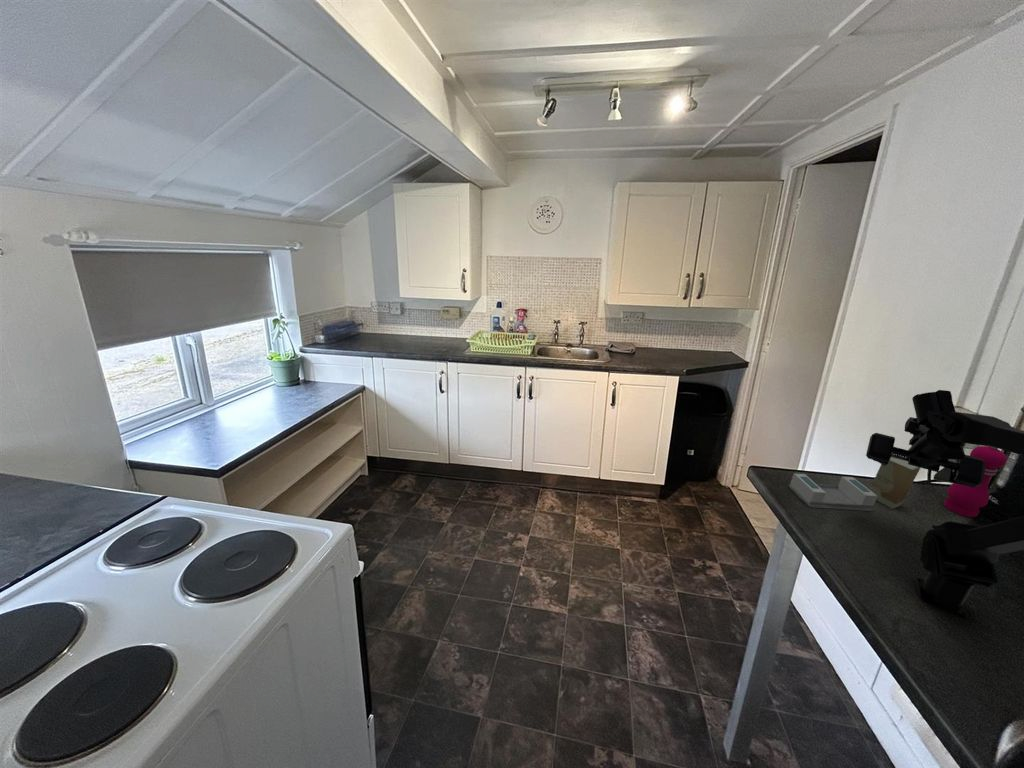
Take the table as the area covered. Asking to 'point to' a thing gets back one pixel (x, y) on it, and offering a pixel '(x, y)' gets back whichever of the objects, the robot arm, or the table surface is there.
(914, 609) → the table surface
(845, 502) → the rail board
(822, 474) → the table surface
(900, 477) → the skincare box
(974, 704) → the table surface
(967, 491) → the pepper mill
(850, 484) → the mounted modules
